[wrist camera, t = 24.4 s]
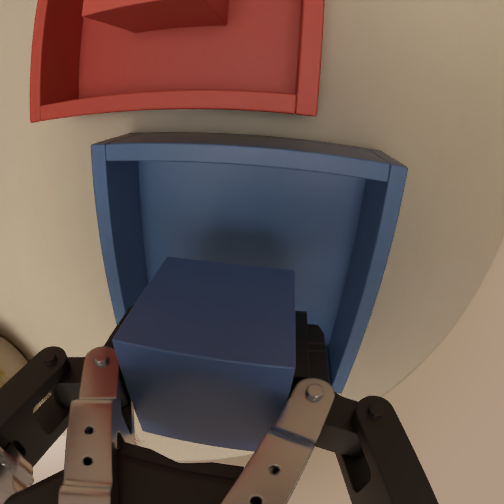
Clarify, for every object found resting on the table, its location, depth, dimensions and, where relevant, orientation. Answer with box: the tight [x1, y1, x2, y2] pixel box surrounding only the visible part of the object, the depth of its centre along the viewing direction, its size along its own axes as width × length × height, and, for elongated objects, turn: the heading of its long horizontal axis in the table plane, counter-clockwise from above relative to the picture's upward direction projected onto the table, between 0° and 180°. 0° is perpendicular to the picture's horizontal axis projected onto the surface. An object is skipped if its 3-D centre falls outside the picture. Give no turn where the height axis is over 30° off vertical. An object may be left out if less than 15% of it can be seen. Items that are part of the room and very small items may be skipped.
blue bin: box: [91, 132, 408, 393], centre depth 17 cm, size 14×14×4 cm
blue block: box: [112, 257, 296, 451], centre depth 11 cm, size 5×5×5 cm
